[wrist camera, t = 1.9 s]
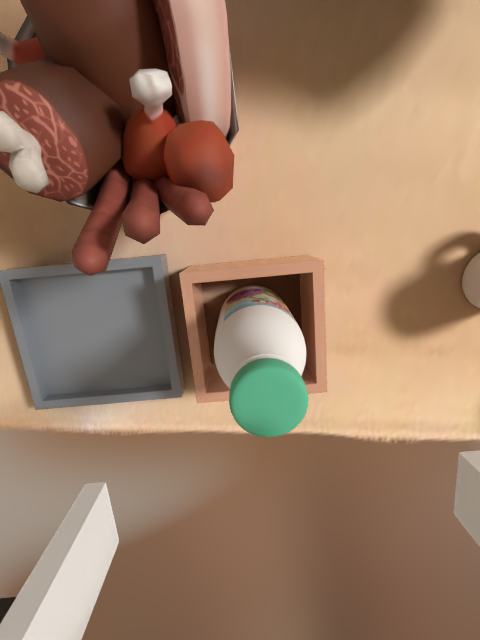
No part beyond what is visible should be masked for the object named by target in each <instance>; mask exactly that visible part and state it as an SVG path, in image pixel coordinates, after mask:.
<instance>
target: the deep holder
mask: <svg viewBox="0 0 480 640" xmlns="http://www.w3.org/2000/svg"><path fill="white" fill-rule="evenodd" d="M289 274H299V276H300V299H301V321H302V334H303V337H304V340H305V345H306V363H305V367H304V370H303V373H302V376H301V377H302V379H303V381H304V383H305V386H306V389H307V392H308V394H311V393H322V392H327V368H326V329H325V291H324V260H322V259H319V258H316V257H312V256H309V255H302V256H291V257H281V258H270V259H259V260H248V261H238V262H227V263H216V264H205V265H195V266H189V267H188V268H186V269H185V270H183V271H182V272H181V273H179V276H180V283H181V290H182V298H183V305H184V312H185V319H186V327H187V334H188V341H189V348H190V355H191V363H192V370H193V377H194V384H195V392H196V399H197V403H206V402H217V401H229V392H230V388H229V387H228V386H227V385H226V384H225V383H224V381H223V380H222V378H221V376H220V375H219V372H218V370H217V367H216V365H215V366H211V359H210V350H209V342H208V334H207V326H206V318H205V309H204V301H203V293H202V285H201V283H202V282H213V281H223V280H234V279H245V278H256V277H267V276H278V275H289Z"/></svg>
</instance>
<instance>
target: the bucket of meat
mask: <svg viewBox="0 0 480 640" xmlns="http://www.w3.org/2000/svg"><path fill="white" fill-rule="evenodd" d="M20 1H21V3H22V5H23V7H24V9H25V11H26V13H27V15H28V16H27V17H26V19H25V21H24V23H23V25H22V27H21V28H20V30H19V32H18V34H17V36H16V38H15V39H13V38H11V37H8V36H6V35H4V34H2V33H0V54H1V55H3V56H5V57H6V58H7V62H8V70H7V71H4V72H2V73H0V168H1V169H2V170H3V171H4V172H6V173H7V174H8V175H9V176H10V177H11V178H13V179H14V180H15V183H16V185H17V186H19V187H21V188H23V189H25V190H26V191H28V192H29V193H32V194H35V195H39V196H42V197H46V198H49V199H53V200H57V201H60V202H61V201H66V202H67V203H68V204H71V205H75V206H79V207H82V208H86V209H90V210H92V211H91V213H90V215H89V217H88V219H87V221H86V223H85V225H84V227H83V229H82V232H81V234H80V236H79V238H78V240H77V242H76V244H75V246H74V248H73V250H72V255H73V263H74V267H75V268H76V269H78V270H79V271H81V272H83V273H85V274H86V275H90V276H92V275H94V274H97V273H100V272H103V271H105V270H107V267H108V264H109V260H110V257H111V254H112V251H113V248H114V245H115V242H116V239H117V236H118V233H119V230H120V227H121V224H122V220H123V226H124V232H125V235H126V236H128V237H130V238H132V239H134V240H136V241H138V242H140V243H142V244H145V243H147V242H148V241H150V240H151V239H153V238H154V237H156V236H157V235H159V234H160V214H161V213H163V212H166V211H168V210H170V211H172V212H173V213H174V214H175V215H176V216H178V217H179V218H180V219H181V220H182V221H184V222H185V223H186V224H187V225H205V224H206V223H207V221H208V219H209V218H210V216H211V214H212V212H213V211H214V209H213V207H212V205H211V203H210V202H216V201H220V200H221V199H222V198H223V197H224V196H225V195H226V194H227V193H228V192H229V191H230V190H231V189H232V188H233V170H234V154H233V152H232V150H231V148H230V145H231V144H232V142H233V140H234V138H235V136H236V134H237V132H238V131H239V126H238V117H237V108H236V99H235V90H234V81H233V72H232V63H231V54H230V48H229V38H228V23H227V12H226V4H225V0H20Z"/></svg>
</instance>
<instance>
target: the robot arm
mask: <svg viewBox="0 0 480 640" xmlns="http://www.w3.org/2000/svg"><path fill="white" fill-rule="evenodd" d="M454 515H455V516H456V517H457V518H458V520H459V521H460V522H461V524H462V525H463V526H464V527H465V529H466V530H467V531H468V532H469V534H470V535H471V536H472V538H473V539H474V540H475V542H476V543H477V544H478V545H479V547H480V451H470V452H459V459H458V470H457V482H456V493H455V505H454ZM118 543H119V538H118V534H117V529H116V525H115V521H114V516H113V512H112V508H111V504H110V499H109V494H108V491H107V486H106V482H103V483H91V484H85V485H84V487H83V489H82V490H81V492H80V494H79V495H78V497H77V499H76V500H75V502H74V504H73V506H72V507H71V508H70V510H69V512H68V513H67V515H66V517H65V519H64V520H63V522H62V523H61V525H60V527H59V528H58V530H57V531H56V533H55V535H54V537H53V538H52V540H51V541H50V543H49V545H48V546H47V548H46V550H45V551H44V553H43V554H42V556H41V558H40V559H39V561H38V563H37V564H36V566H35V568H34V569H33V571H32V573H31V574H30V576H29V577H28V579H27V581H26V583H25V584H24V586H23V587H22V589H21V591H20V592H19V594H18V596H17V597H11V598H1V599H0V640H81V639H82V636H83V634H84V631H85V629H86V626H87V623H88V621H89V618H90V616H91V613H92V610H93V608H94V605H95V603H96V600H97V597H98V595H99V592H100V590H101V587H102V584H103V582H104V579H105V577H106V574H107V571H108V569H109V566H110V564H111V561H112V558H113V556H114V553H115V551H116V548H117V545H118Z"/></svg>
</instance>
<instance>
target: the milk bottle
mask: <svg viewBox="0 0 480 640" xmlns="http://www.w3.org/2000/svg"><path fill="white" fill-rule="evenodd" d="M214 358H215V364H216V367H217V370H218V372H219V375H220V376H221V378H222V380H223V381H224V383H225V384H226V385H227V386H228V387H229V388H230V392H229V404H230V410H231V413H232V415H233V417H234V419H235V420H236V422H237V423H238V424H239V425H240V426H241V427H242V428H243V429H244V430H246V431H247V432H249V433H251V434H253V435H256V436H260V437H276V436H280V435H283V434H286V433H288V432H290V431H291V430H293V429H294V428H295V427H296V426H297V425H298V424H299V423H300V422H301V421H302V419H303V418H304V416H305V414H306V411H307V407H308V392H307V389H306V386H305V383H304V381H303V379H302V377H301V376H302V373H303V370H304V367H305V363H306V345H305V340H304V337H303V334H302V332H301V330H300V327H299V325H298V324H297V322H296V320H295V319H294V317H293V315H292V314H291V312H290V311H289V309H288V308H287V306H286V305H285V303H284V302H283V300H282V299H281V298H280V297H279V296H278V295H277V294H276V293H275V292H274V291H272V290H271V289H269V288H266V287H263V286H259V285H250V286H245V287H242V288H239V289H237V290H236V291H234V292H233V293H232V294H230V295H229V296H228V298H227V299H226V300H225V302H224V304H223V306H222V308H221V311H220V316H219V320H218V325H217V329H216V335H215V342H214Z"/></svg>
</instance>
